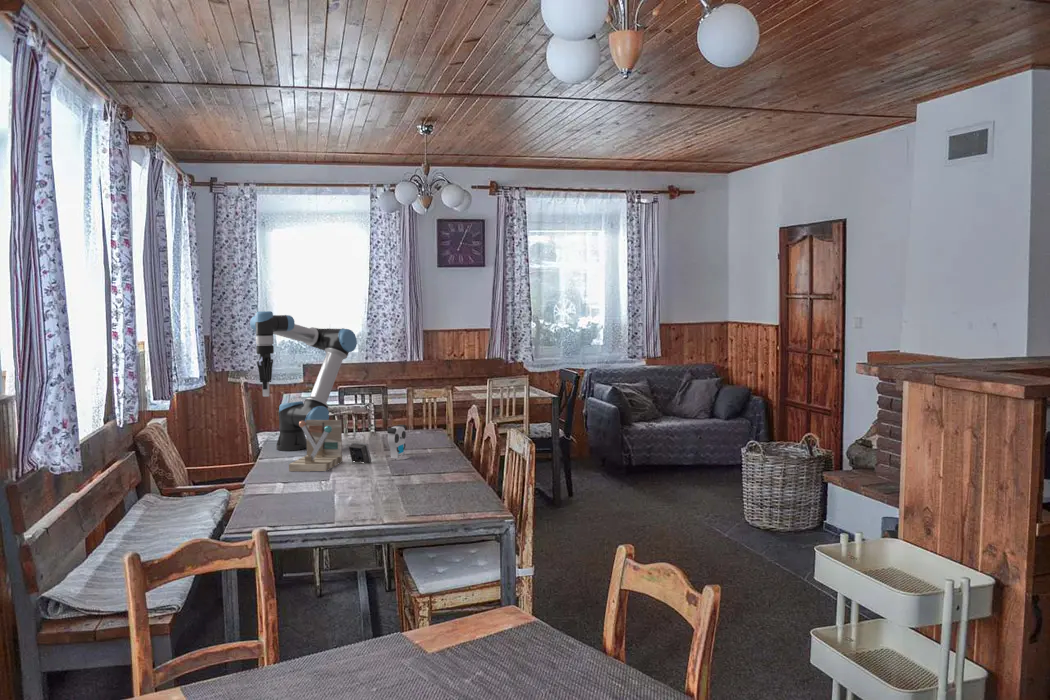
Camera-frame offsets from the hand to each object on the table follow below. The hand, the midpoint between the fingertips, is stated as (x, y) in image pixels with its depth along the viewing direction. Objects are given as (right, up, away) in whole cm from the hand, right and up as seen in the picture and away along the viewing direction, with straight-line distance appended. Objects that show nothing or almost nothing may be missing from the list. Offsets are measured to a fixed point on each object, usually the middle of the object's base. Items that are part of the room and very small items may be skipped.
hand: (266, 396), depth 378 cm
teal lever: (+26, -27, -23) cm, 44 cm away
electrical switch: (+45, -30, -7) cm, 54 cm away
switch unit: (+27, -30, -15) cm, 43 cm away
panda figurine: (+60, -29, +3) cm, 66 cm away
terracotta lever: (+27, -26, -9) cm, 39 cm away
